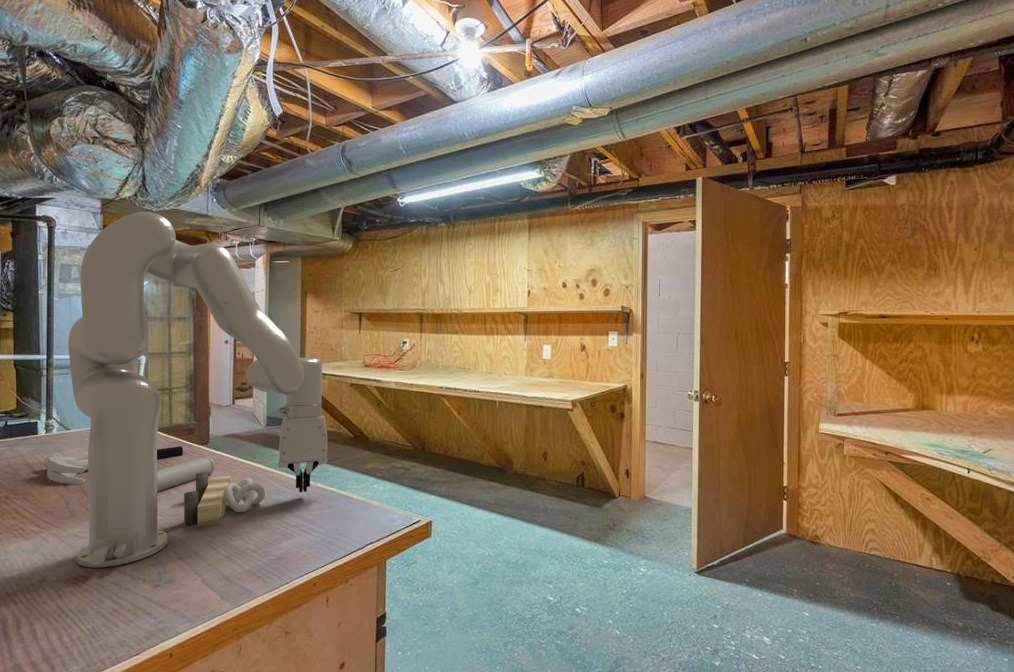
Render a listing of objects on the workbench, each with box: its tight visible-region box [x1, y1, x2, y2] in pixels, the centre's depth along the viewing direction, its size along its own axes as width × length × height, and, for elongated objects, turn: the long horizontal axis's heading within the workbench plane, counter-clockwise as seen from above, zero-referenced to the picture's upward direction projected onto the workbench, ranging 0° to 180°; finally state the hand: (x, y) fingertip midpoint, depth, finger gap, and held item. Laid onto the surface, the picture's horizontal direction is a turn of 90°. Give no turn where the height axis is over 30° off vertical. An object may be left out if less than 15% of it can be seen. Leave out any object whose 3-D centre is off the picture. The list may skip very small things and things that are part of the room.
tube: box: [157, 455, 215, 493], centre depth 118 cm, size 5×5×25 cm
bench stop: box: [183, 472, 232, 528], centre depth 106 cm, size 20×7×6 cm, turn 25°
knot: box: [224, 477, 266, 513], centre depth 107 cm, size 8×8×6 cm
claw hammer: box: [43, 446, 184, 485], centre depth 136 cm, size 6×22×30 cm
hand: (302, 490), depth 112 cm, fingers closed
